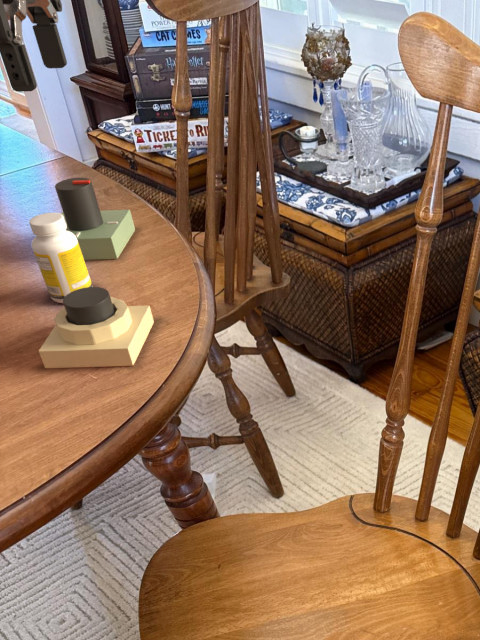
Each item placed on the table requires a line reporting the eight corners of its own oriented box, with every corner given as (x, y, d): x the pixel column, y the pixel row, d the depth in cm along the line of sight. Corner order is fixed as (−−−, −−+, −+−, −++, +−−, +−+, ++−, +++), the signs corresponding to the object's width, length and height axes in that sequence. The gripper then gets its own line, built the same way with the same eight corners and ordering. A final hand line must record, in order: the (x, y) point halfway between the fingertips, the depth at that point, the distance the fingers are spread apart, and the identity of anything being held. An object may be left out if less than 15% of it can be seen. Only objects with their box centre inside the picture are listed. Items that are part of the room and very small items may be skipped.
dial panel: (46, 261, 108) (38, 239, 106) (68, 232, 116) (61, 210, 114) (117, 258, 108) (110, 236, 106) (135, 229, 115) (129, 208, 113)
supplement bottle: (96, 283, 103) (72, 208, 96) (91, 302, 99) (66, 225, 92) (54, 287, 102) (27, 212, 96) (47, 306, 98) (18, 229, 92)
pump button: (63, 327, 87) (56, 308, 85) (77, 306, 90) (70, 287, 89) (108, 326, 87) (101, 306, 85) (119, 305, 90) (114, 285, 89)
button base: (45, 368, 87) (32, 336, 85) (72, 324, 95) (61, 293, 92) (133, 365, 87) (123, 333, 84) (154, 322, 94) (145, 291, 92)
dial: (63, 231, 108) (49, 188, 104) (74, 217, 112) (60, 175, 108) (97, 230, 108) (84, 187, 104) (107, 216, 112) (94, 174, 108)
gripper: (-32, -140, 72) (31, 62, 83) (-110, -129, 61) (-26, 100, 72) (48, -143, 71) (100, 60, 82) (-16, -133, 61) (53, 98, 72)
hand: (41, 78), depth 77 cm, fingers open, 8 cm apart
